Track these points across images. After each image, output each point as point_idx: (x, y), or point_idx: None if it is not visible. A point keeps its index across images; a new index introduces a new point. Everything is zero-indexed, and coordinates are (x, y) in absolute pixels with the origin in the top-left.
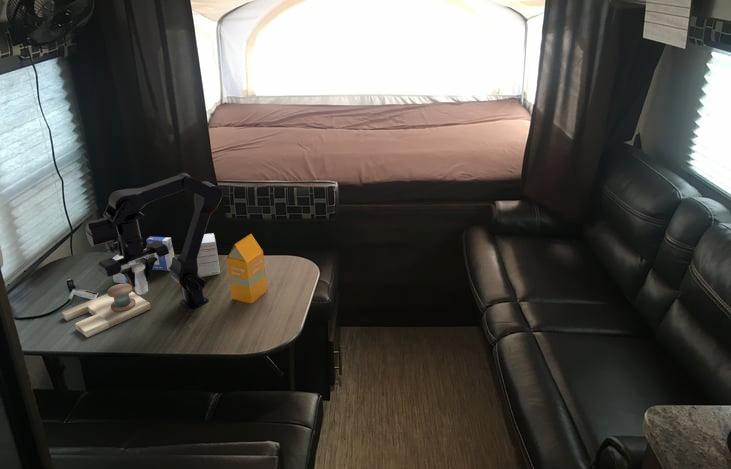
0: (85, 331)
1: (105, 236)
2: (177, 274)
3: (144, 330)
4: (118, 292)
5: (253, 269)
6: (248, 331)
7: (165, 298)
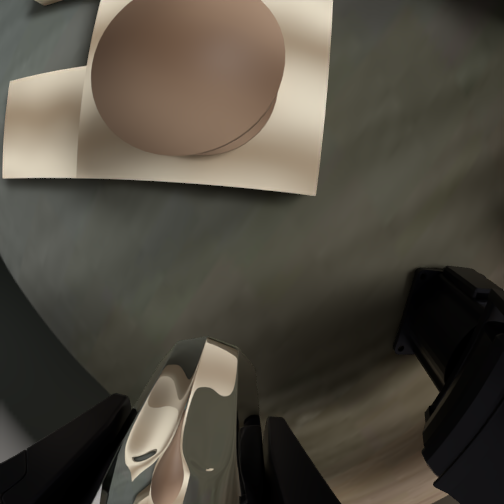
0: (3, 175)
1: None
2: (446, 481)
3: (176, 322)
4: (143, 99)
5: None
6: (351, 501)
7: (411, 172)
